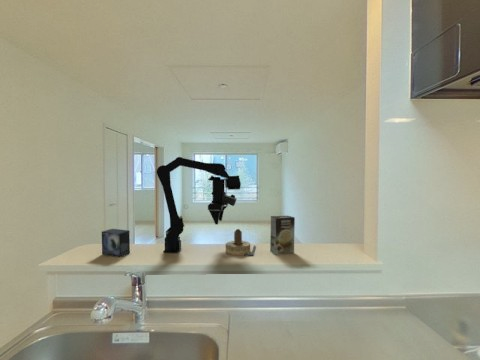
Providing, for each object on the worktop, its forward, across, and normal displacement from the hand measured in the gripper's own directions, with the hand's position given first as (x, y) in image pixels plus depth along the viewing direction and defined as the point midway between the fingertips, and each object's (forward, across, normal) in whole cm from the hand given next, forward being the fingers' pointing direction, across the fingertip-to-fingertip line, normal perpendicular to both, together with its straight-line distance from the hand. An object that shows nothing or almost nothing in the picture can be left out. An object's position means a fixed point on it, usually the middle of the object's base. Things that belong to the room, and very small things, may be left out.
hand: (218, 222), depth 135 cm
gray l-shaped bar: (+12, -4, -15) cm, 20 cm away
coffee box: (+12, -4, -30) cm, 33 cm away
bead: (+12, -5, -10) cm, 16 cm away
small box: (+12, -16, +43) cm, 48 cm away
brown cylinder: (+12, -5, -10) cm, 16 cm away
